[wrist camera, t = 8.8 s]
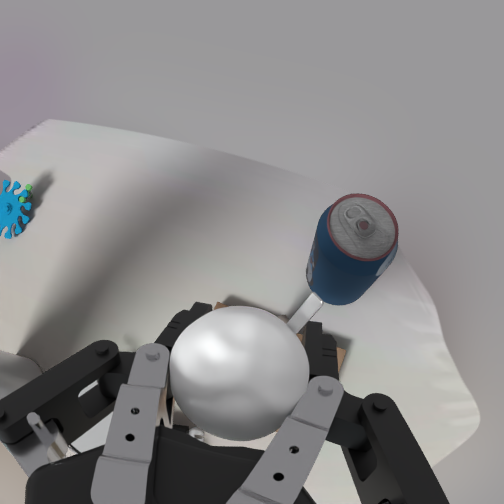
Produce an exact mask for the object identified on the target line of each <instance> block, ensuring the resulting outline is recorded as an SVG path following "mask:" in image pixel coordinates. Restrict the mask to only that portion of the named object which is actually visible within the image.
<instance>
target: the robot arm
mask: <svg viewBox="0 0 504 504" xmlns="http://www.w3.org/2000/svg"><path fill="white" fill-rule="evenodd" d="M211 311H212V305H211V304H205V303H200V302H195V304H194V305H193V306H192V308H191V309H190V311H188V310H182V311H181V312H179V313H177V314H176V315H175V316H174V317H173V318H172V320H171V322H169V324H168V325H167V327H166V328H165V329H164V330H163V332H162V333H161V334H160V336H159V337H158V338H157V340H156V341H155V342H154V343H150V344H146V345H143V346H141V347H140V348H139V349H138V350H137V352H119V350H118V346H117V345H116V344H115V343H114V342H112V341H109V340H100V341H96V342H94V343H92V344H91V345H89V346H87V347H86V348H84V349H82V350H81V351H79V352H77V353H76V354H74V355H73V356H71V357H69V358H68V359H66V360H64V361H63V362H61V363H59V364H58V365H56V366H54V367H53V368H51V369H50V370H48V371H46V372H45V373H43V374H42V372H41V370H40V368H39V367H38V365H37V364H36V363H35V362H34V361H33V360H31V359H29V358H26V357H22V356H18V355H15V354H11V353H8V352H4V351H0V441H1V443H2V444H3V445H4V446H5V447H6V449H7V450H8V451H9V452H10V453H11V454H12V455H13V456H14V458H15V459H16V460H17V462H18V463H19V465H20V466H21V468H22V469H23V470H24V472H25V473H26V474H27V476H28V477H29V479H28V481H27V484H26V492H25V504H316V503H315V501H314V500H313V499H312V497H311V496H310V495H309V493H308V492H307V491H306V489H305V488H304V487H303V485H304V483H305V481H306V479H307V477H308V475H309V473H310V471H311V469H312V467H313V465H314V463H315V461H316V458H317V456H318V454H319V452H320V450H321V448H322V445H323V443H324V441H325V440H327V441H329V442H332V443H335V444H338V445H341V448H342V451H343V454H344V456H345V459H346V462H347V465H348V467H349V470H350V473H351V476H352V478H353V481H354V484H355V487H356V489H357V492H358V495H359V498H360V501H361V503H362V504H449V502H448V500H447V498H446V496H445V494H444V492H443V490H442V488H441V486H440V484H439V482H438V480H437V478H436V476H435V474H434V473H433V470H432V469H431V467H430V465H429V463H428V461H427V459H426V457H425V456H424V454H423V452H422V450H421V448H420V446H419V445H418V443H417V441H416V439H415V437H414V436H413V434H412V432H411V430H410V428H409V427H408V425H407V423H406V421H405V420H404V418H403V416H402V414H401V413H400V411H399V409H398V407H397V406H396V404H395V402H394V401H393V400H392V399H391V398H390V397H388V396H386V395H384V394H380V393H373V394H370V395H368V396H366V397H365V398H364V399H362V398H358V397H355V396H353V395H350V394H349V393H347V392H346V391H345V390H344V388H343V386H342V384H341V383H340V382H339V374H338V358H337V345H336V341H335V340H334V338H333V337H332V335H329V334H322V323H320V322H313V321H308V322H307V323H306V324H305V327H304V332H303V336H302V341H301V343H302V345H303V347H304V349H305V351H306V354H307V357H308V362H309V380H308V386H307V389H306V391H305V393H304V394H303V395H302V397H301V398H300V400H299V401H298V403H297V405H296V407H295V409H294V410H293V412H292V414H291V415H288V416H287V417H286V419H285V420H284V422H283V424H282V425H281V427H280V429H279V430H278V432H277V434H276V435H275V437H274V438H273V440H272V441H271V443H270V445H269V446H268V448H267V449H266V451H264V450H258V449H252V448H247V447H225V446H210V445H208V444H206V443H204V442H202V441H200V440H198V439H196V438H194V437H192V436H191V435H189V434H187V433H185V432H181V431H178V430H175V429H172V426H173V414H174V403H175V399H174V396H173V394H172V390H171V385H170V366H169V365H170V355H171V351H172V349H173V346H174V344H175V342H176V341H177V339H178V337H179V336H180V335H181V333H182V332H183V331H184V330H185V329H186V328H187V327H188V326H189V325H190V324H192V323H193V322H194V321H196V320H197V319H199V318H200V317H202V316H203V315H205V314H207V313H209V312H211ZM95 381H97V383H98V384H97V385H95V386H94V387H93V388H91V389H90V390H88V391H87V392H85V393H84V394H83V395H81V396H80V397H78V396H79V393H80V392H81V391H82V390H83V389H84V388H86V387H87V386H89V385H90V384H92V383H93V382H95ZM112 412H113V415H112V418H111V422H110V426H109V430H108V434H107V438H106V443H105V444H104V445H101V446H98V447H96V448H93V449H90V450H87V451H85V452H82V453H79V454H76V455H73V456H70V457H67V458H66V453H67V450H68V446H69V445H70V444H71V443H73V442H74V441H75V440H77V439H78V438H79V437H81V436H82V435H83V434H84V433H86V432H87V431H88V430H90V429H91V428H92V427H94V426H95V425H96V424H97V423H99V422H100V421H101V420H103V419H104V418H105V417H106V416H108V415H109V414H110V413H112Z"/></svg>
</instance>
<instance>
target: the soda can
mask: <svg viewBox="0 0 504 504" xmlns="http://www.w3.org/2000/svg"><path fill="white" fill-rule="evenodd" d="M397 247H398V224H397V221H396V218H395V216H394V214H393V213H392V211H391V210H390V209H389V208H388V207H387V206H386V205H385V204H384V203H383V202H381V201H380V200H378V199H376V198H374V197H372V196H369V195H366V194H349V195H346V196H344V197H342V198H340V199H338V200H337V201H336V202H335V203H334V204H333V205H331V206H330V207H328V208H327V209H326V210H325V211H324V213H323V214H322V215H321V217H320V219H319V222H318V226H317V230H316V234H315V238H314V241H313V245H312V249H311V253H310V257H309V260H308V264H307V269H306V277H307V282H308V284H309V287H310V289H311V290H312V292H315V293H316V294H317V295H318V296H319V297H320V298H321V299H322V300H323V301H324V302H326V303H329V304H332V305H346V304H350V303H352V302H354V301H356V300H357V299H359V298H360V297H361V296H362V295H363V294H364V292H365V291H366V290H367V289H368V288H369V287H370V286H371V285H372V284H373V283H374V282H375V281H376V279H377V278H378V277H379V276H380V275H381V274H382V273H383V272H384V271H385V269H386V268H387V267H388V266H389V265H390V264H391V262H392V261H393V259H394V257H395V255H396V252H397Z"/></svg>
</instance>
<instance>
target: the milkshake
mask: <svg viewBox="0 0 504 504" xmlns="http://www.w3.org/2000/svg"><path fill="white" fill-rule="evenodd" d="M323 304H324V302H323V300H322V299H321V298H320V297H319V296H318V295H317V294H316V293H315V292H312V293H311V294H310V295H309V296H308V298H307V299H306V300H305V301H304V303H303V304H302V305H301V307H300V308H299V309H298V310H297V312H296V313H295V314H294V315H293V316H292V318H291V319H290V320H289V321H288V323H287V324H286V323H284V322H283V321H282V320H281V319H279V318H278V317H276V316H275V315H273V314H271V313H269V312H267V311H265V310H262V309H259V308H255V307H248V306H230V307H223V308H219V309H216V310H213V311H211V312H209V313H207V314H205V315H203V316H202V317H200V318H199V319H197V320H196V321H194V322H193V323H192V324H190V325H189V326H188V327H187V328H186V329H185V330H184V331H183V332H182V333H181V335H180V336H179V337H178V339H177V341H176V342H175V344H174V346H173V349H172V351H171V355H170V365H169V366H170V385H171V390H172V394H173V396H174V399H175V401H176V402H177V404H178V406H179V407H180V409H181V410H182V411H183V413H184V414H185V415H186V416H187V417H188V418H189V420H191V421H192V422H193V423H194V424H195V425H196V426H198V427H199V428H200V429H202V430H204V431H205V432H207V433H210V434H212V435H214V436H217V437H220V438H224V439H228V440H234V441H250V440H255V439H259V438H262V437H265V436H267V435H269V434H271V433H273V432H274V431H276V430H278V429H279V428H280V427H281V425H282V424H283V422H284V420H285V419H286V417H287V416H288V415H291V414H292V412H293V410H294V409H295V407H296V405H297V403H298V401H299V400H300V398H301V397H302V395H303V394H304V393H305V391H306V389H307V386H308V380H309V362H308V357H307V354H306V351H305V349H304V347H303V345H302V343H301V342H300V340H299V338H298V337H297V335H296V334H297V333H298V332H299V331H300V330H301V329H302V328H303V327H304V325H305V324H306V323H307V322H308V321H309V320H310V319H311V318H312V317H313V316H314V314H315V313H316V312H317V311H318V310H319V309H320V308H321V307H322V305H323Z"/></svg>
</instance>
